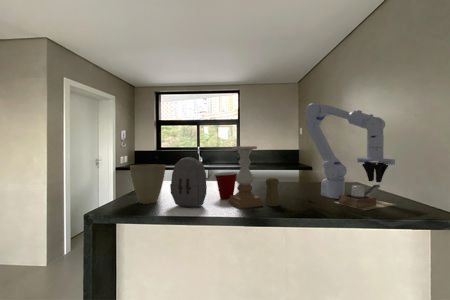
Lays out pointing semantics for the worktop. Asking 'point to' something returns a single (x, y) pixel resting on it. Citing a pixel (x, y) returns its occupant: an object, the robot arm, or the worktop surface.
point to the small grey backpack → (188, 183)
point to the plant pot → (147, 181)
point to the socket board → (362, 202)
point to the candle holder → (244, 182)
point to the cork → (272, 192)
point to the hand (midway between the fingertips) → (374, 181)
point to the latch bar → (372, 190)
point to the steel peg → (357, 192)
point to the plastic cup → (226, 184)
